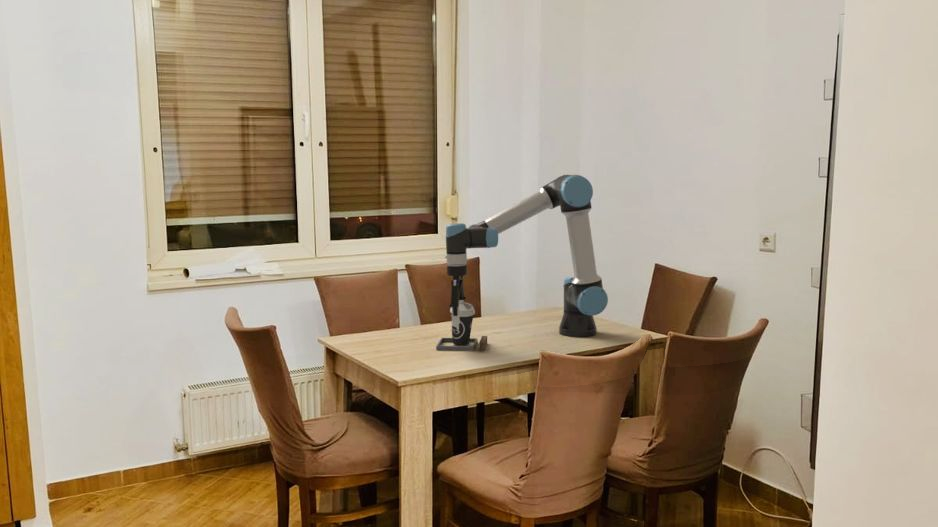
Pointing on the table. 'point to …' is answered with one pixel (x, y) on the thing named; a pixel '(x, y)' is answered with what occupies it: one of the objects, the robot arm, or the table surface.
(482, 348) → the edge strip
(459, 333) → the coffee cup
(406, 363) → the table surface
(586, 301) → the robot arm
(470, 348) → the frame
